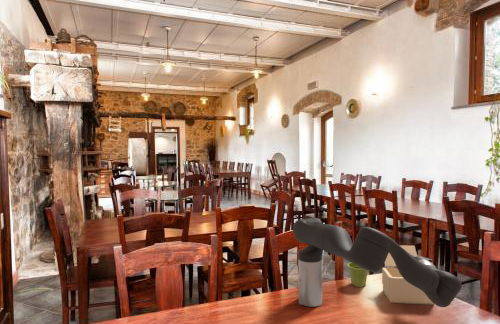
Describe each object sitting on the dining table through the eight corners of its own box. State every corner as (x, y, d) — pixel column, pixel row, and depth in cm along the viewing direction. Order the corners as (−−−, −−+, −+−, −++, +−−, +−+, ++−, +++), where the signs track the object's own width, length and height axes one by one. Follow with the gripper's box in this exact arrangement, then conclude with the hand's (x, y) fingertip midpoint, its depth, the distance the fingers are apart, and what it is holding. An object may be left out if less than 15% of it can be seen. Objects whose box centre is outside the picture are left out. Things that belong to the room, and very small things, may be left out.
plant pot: (371, 289, 149) (371, 269, 148) (348, 287, 150) (348, 268, 150) (368, 281, 158) (368, 262, 157) (346, 280, 160) (346, 261, 159)
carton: (389, 303, 135) (389, 278, 134) (381, 290, 147) (381, 267, 147) (435, 305, 133) (435, 279, 132) (423, 292, 145) (423, 268, 144)
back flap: (385, 265, 146) (381, 245, 153) (385, 266, 146) (380, 245, 154) (420, 266, 144) (414, 245, 151) (420, 267, 145) (414, 246, 152)
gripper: (403, 280, 123) (390, 264, 140) (443, 281, 121) (424, 265, 138) (403, 259, 122) (390, 245, 140) (443, 260, 121) (424, 246, 138)
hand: (407, 255), depth 139 cm, fingers closed
